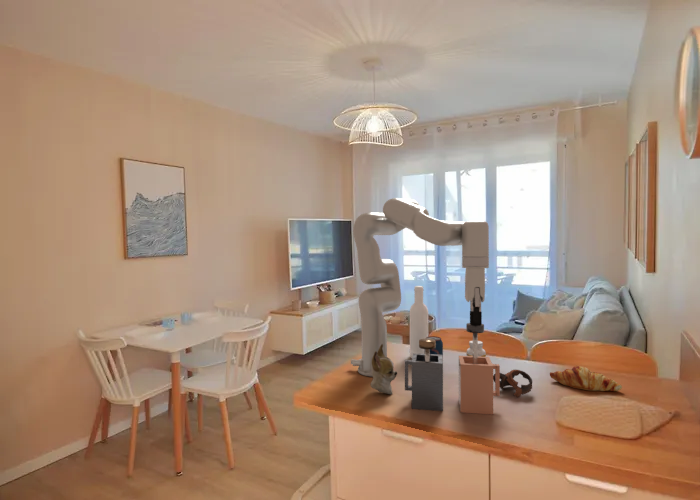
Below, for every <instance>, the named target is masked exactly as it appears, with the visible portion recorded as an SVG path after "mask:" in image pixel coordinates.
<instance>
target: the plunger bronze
mask: <svg viewBox="0 0 700 500" xmlns="http://www.w3.org/2000/svg"><path fill="white" fill-rule="evenodd" d="M419 348H421V349H425V361H427V362H430V349H435V348H436V341H435V340H433V339H420V340H419Z"/></svg>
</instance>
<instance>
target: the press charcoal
mask: <svg viewBox="0 0 700 500" xmlns="http://www.w3.org/2000/svg"><path fill="white" fill-rule="evenodd" d="M409 366H411V385H409ZM404 391H408V392H409V391H411V409H412V410H425V411H438V412H439V411H441V412H443V411H444V358H443V359H442V355H435V354H430V362H427V361H425V354H413V357H412V358H411V359H404Z"/></svg>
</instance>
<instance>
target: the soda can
mask: <svg viewBox="0 0 700 500" xmlns="http://www.w3.org/2000/svg"><path fill="white" fill-rule="evenodd" d="M426 339H433V340H435V341H436V348H435V349H430V354H435V355H442V359H443V360H444V343H443V340H442V338H441V337H440V336H437V335H436V336H434V335H431V336H430V335H428V337H426Z"/></svg>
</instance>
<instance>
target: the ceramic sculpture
mask: <svg viewBox="0 0 700 500" xmlns="http://www.w3.org/2000/svg"><path fill="white" fill-rule="evenodd" d="M382 348H383V344H381V346H380V348H379V350H378V352H376V351H375V353H374V355H373V357H372V366H371V371H372V375H373V377H372V380H371V382H370V387H371V388H372V389H373V390H376V391H378V392H380V393H383V394H387V395H393V390H392V386H391V382H393V381H395V378H396V377H397V374H398V372H397V371H396V370H394V369H395V368H394V366H395V365H394V362H393V360H392V359H390V358H389V357H388V356H387V357H385V355H384V354H383V350H382Z"/></svg>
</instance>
